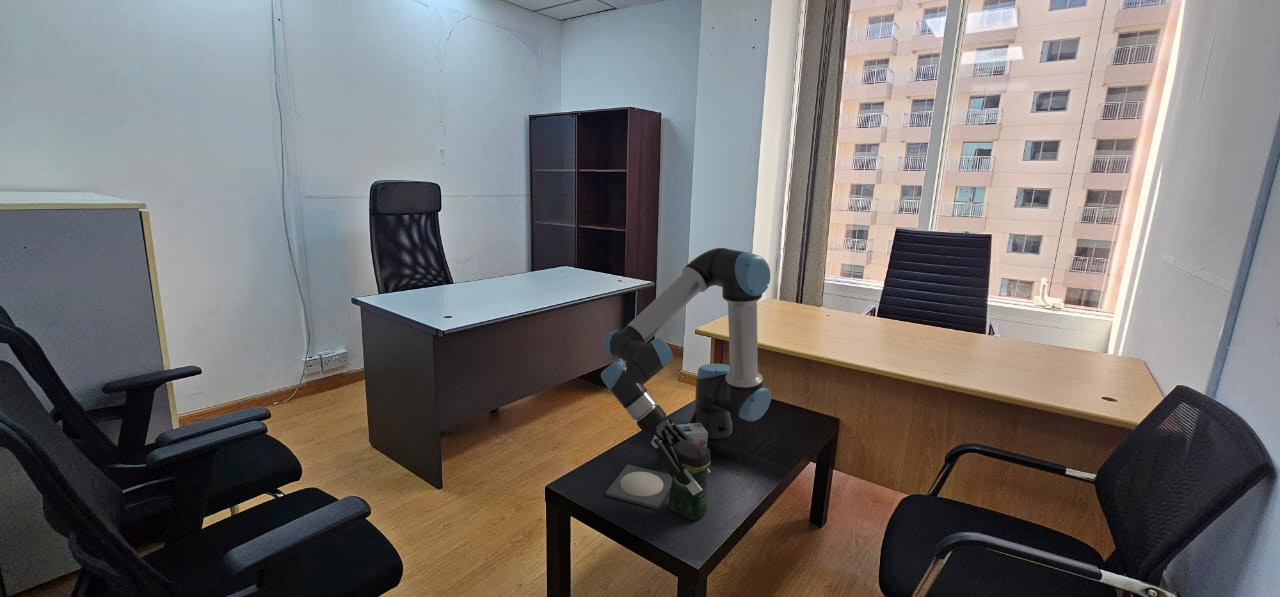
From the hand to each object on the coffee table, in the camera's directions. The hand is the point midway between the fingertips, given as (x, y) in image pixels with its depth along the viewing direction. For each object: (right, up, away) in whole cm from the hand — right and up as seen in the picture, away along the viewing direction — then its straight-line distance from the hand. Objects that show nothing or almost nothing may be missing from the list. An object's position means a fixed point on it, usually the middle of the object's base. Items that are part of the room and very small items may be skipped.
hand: (702, 483), depth 135 cm
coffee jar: (-4, -8, +3) cm, 10 cm away
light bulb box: (-2, -3, +27) cm, 28 cm away
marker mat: (-15, -5, +12) cm, 21 cm away
